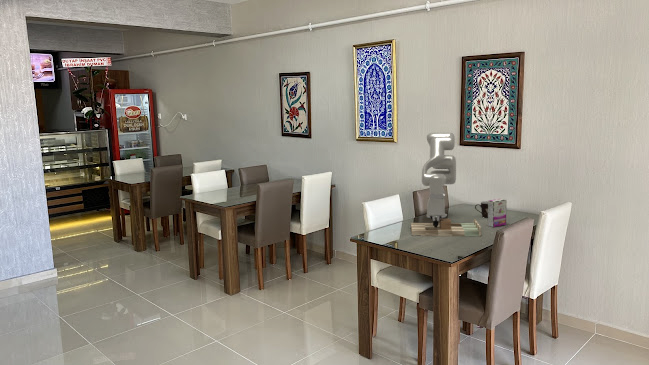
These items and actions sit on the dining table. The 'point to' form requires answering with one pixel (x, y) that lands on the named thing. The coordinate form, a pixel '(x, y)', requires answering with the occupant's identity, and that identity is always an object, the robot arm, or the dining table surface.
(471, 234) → the trap deck
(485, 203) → the coffee mug
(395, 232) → the dining table surface
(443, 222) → the walnut block
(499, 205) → the candy bar box
